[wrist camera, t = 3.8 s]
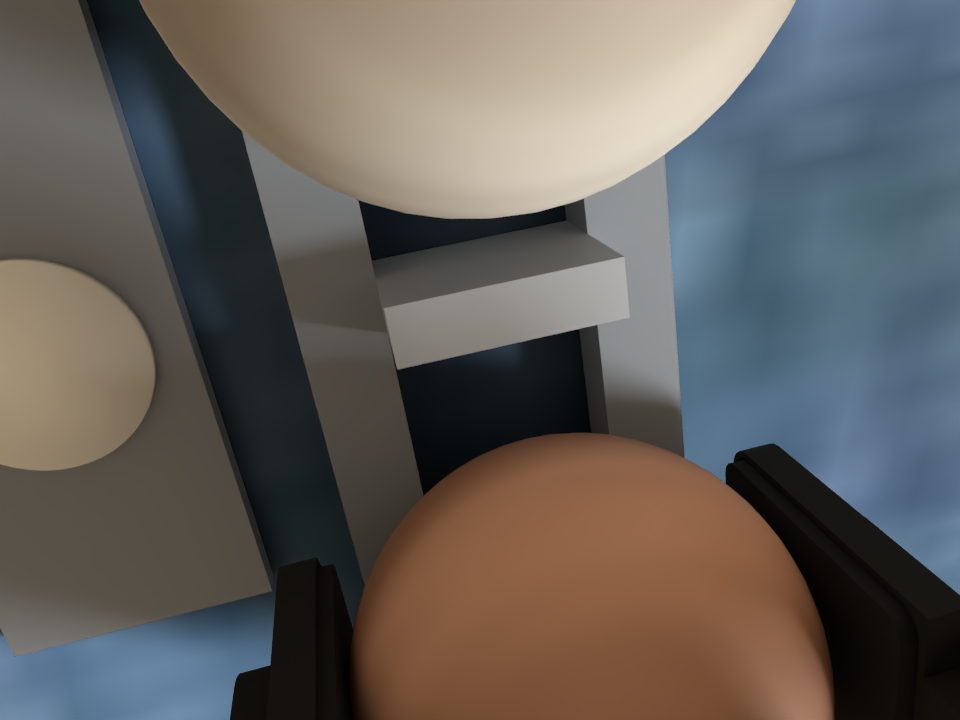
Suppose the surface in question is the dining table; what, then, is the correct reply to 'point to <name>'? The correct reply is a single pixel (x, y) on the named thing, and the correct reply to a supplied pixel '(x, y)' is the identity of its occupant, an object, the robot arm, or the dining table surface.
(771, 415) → the dining table surface
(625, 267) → the grey ball rail
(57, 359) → the tiles
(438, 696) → the terracotta ball
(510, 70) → the cream ball
